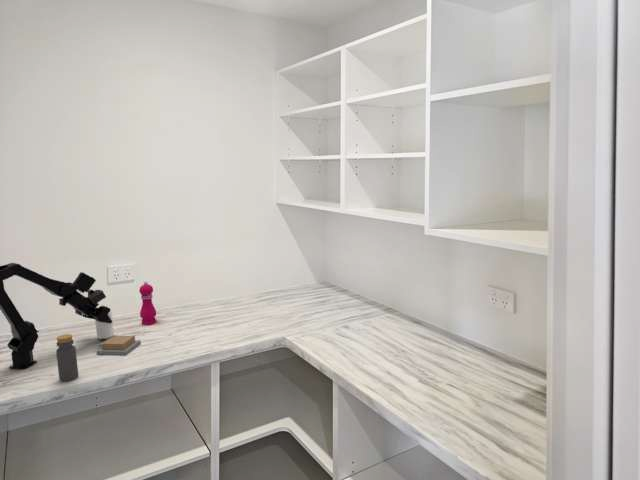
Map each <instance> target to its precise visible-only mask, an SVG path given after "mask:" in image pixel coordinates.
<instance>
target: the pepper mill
mask: <svg viewBox="0 0 640 480" xmlns="http://www.w3.org/2000/svg"><path fill="white" fill-rule="evenodd" d="M138 290H139V294H140V299H141V301H142V303H141V308H140V311H139V317H140V318H141V324H142V325H143V326H148V325H154V324H156V322H157V319H156V316H157V310H156V308H155V306H154V304H153V292H154V287H153V286H152V285H151V284H149V283H148V281H146V280H145V281H143V284H142V285H141V286H140V287H139V289H138Z"/></svg>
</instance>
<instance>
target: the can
mask: <svg viewBox="0 0 640 480" xmlns="http://www.w3.org/2000/svg"><path fill="white" fill-rule="evenodd" d="M108 316H109V317H110V319H111V320H112V323H105V322H98V321H96V320H95V319H94V320H95V328H96V329H95V330H96V337H97V339H99V340H108V339H109V338H111V337H112V336H114V325H113V324H114V323H113V313H112V310H111V309H110V312H109V313H108Z"/></svg>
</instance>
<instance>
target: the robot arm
mask: <svg viewBox="0 0 640 480" xmlns="http://www.w3.org/2000/svg"><path fill="white" fill-rule="evenodd" d="M14 276H15V277H19V278H21V279H23V280H25V281H29V282H30V283H33V284H36V285H37V286H40V287H41V288H43V290H45V291H46V292H47V293H50V294H51V295H53V296H57V297H59V299H58V300H59V304H58V305H60V306H62V307H66V306H67V304H68V305H69V306H71V307H73V309H74V310H75V311H74V312H75V313H74V314H76V315H78V316H81V317H83V318H86V319H90V320H91V319H92V320H96V321H98V322H105V323H112V321H113V319H112V320H111V319H110V317H109V316H108V313H109V312H110V310H111V308H110V307H108V306H105V305H100V303H99V302H101V301H103V300H104V299H106V298H107V296H106V294H105V293H104V291H103V290H101V289H95V290H94V289H91V288H92V287H93V285H94V284H95V283H96V281H97V280H96V279H95V278H94V277H93V276H90V275H88V274H86V273H85V272H83V271H82V272H79V273H78V276H77V277H76V278H75V280H74V281H73V282H70V281H69V282H66V281H65V282H64V281H62V280H61V281H60V280H57V279H53V278H49V277H47V276H45V275H42V274H40V273H37V272H36V271H34V270H31V269H29V268H27V267H25V266H22V265H21V264H20V263H16V262H9V263H8V264H3V265H0V311H1V312H2V314H3V316H4V318H5V319H6V321H7V323H8V324H9V325H10V331H11V334H12V338H10V341H9V342H8V343H7V344H6V345H7V347H8V348H9V350H12V351H11V353H10V354H11V361H12V364H11V365H10V366H9V369H10V370H11V369H12V370H13V369H15V370H18V369H19V370H24V369H25V370H26V369H28V368H29V367H31V366H33V365H35V364H36V363H37V362H38V360H34V353H33V351H34V348H35V345H36V344H35V343H36V342H37V341H38V339H39V330H37V328H36V326H35V324H34V323H33V322H30V321H28V320H24V319H23V317H22V315H21V314H20V312H19V311H18V309H17V307H16V306H15V304H14V303H13V301H12V299H11V298H10V297H9V295H8V293H7V291H6V290H5V284H4V281H5V280H8V279H9V278H12V277H14ZM85 293H87V296H84V295H83V294H85ZM99 305H100V306H99ZM96 321H95V322H96Z"/></svg>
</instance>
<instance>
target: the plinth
mask: <svg viewBox="0 0 640 480" xmlns="http://www.w3.org/2000/svg"><path fill="white" fill-rule="evenodd" d="M140 345H141V340H140V339H139V340H138V339H136V336H135V335H119V334H118V335H113V336H112V337H111V338H108V339H105V340H104V341H103V342H101V347H100V348H99V349H97V350H95V351H96V353H95V354H96V355H98V356H127V355H128V354H129V353H131V352H132V351H134V350H135V349H136V348H137V347H139V346H140Z"/></svg>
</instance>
